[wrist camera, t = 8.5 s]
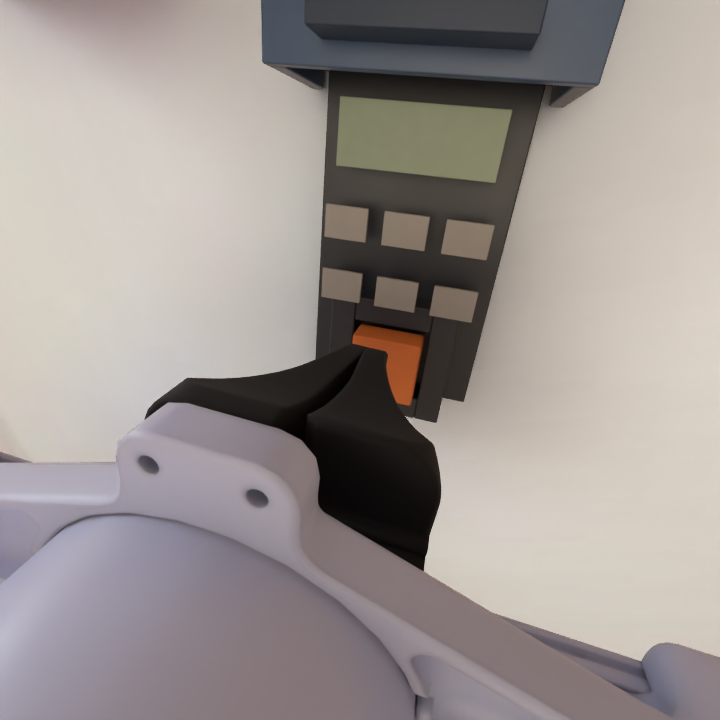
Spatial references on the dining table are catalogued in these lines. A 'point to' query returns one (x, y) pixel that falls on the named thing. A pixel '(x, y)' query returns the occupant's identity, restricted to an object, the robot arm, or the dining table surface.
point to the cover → (444, 40)
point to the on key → (395, 357)
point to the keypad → (421, 157)
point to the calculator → (441, 202)
